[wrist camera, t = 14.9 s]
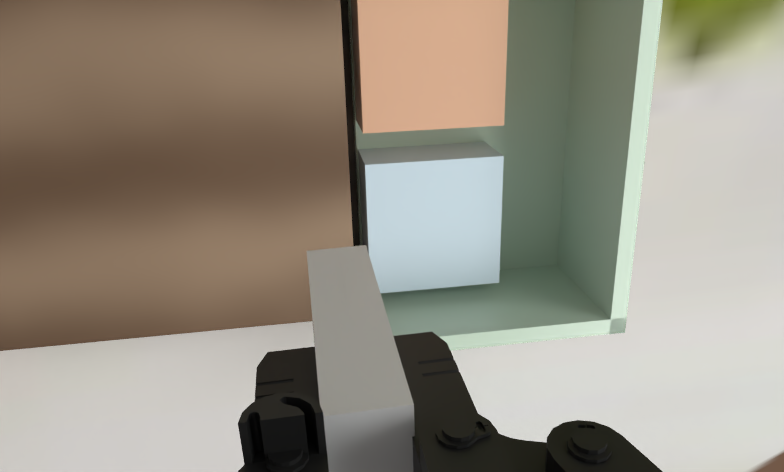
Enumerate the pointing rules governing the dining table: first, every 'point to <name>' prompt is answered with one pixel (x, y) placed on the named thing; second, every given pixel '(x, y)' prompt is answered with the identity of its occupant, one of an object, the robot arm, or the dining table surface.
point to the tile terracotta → (429, 63)
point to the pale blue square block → (432, 214)
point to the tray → (551, 178)
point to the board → (166, 165)
